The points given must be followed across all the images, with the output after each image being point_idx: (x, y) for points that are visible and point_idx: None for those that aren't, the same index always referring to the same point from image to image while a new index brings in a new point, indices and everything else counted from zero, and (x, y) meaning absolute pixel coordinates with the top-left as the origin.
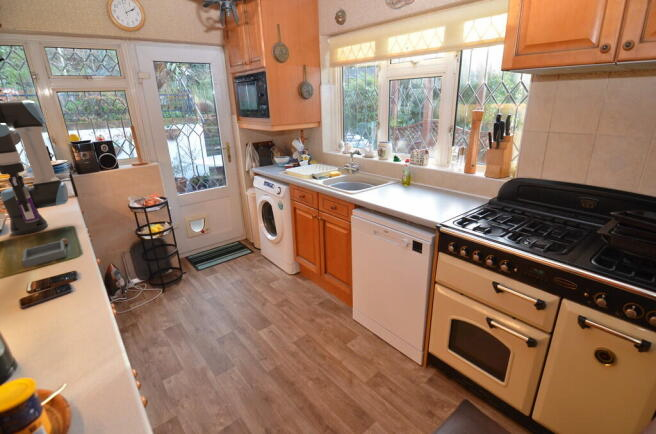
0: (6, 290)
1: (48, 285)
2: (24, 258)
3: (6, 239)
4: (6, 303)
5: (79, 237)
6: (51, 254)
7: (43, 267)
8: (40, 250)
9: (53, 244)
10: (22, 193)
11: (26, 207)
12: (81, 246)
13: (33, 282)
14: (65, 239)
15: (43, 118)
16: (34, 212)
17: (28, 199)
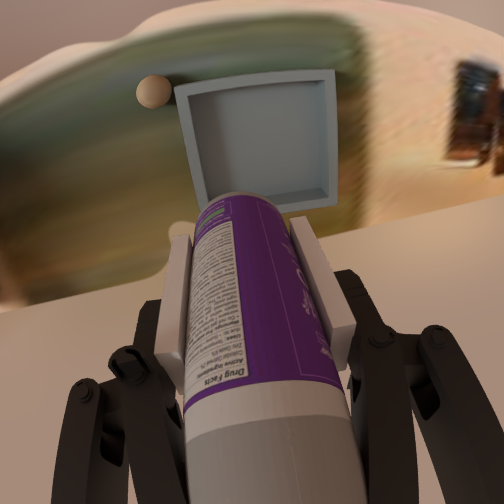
0: (441, 207)
1: (484, 127)
2: (315, 202)
3: (23, 305)
4: (489, 196)
5: (93, 51)
6: (335, 114)
7: (372, 137)
8: (203, 170)
9: (192, 123)
10: (498, 432)
11: (370, 309)
12: (235, 16)
13: (449, 157)
14: (157, 81)
15: None
16: (276, 235)
17: (324, 366)
